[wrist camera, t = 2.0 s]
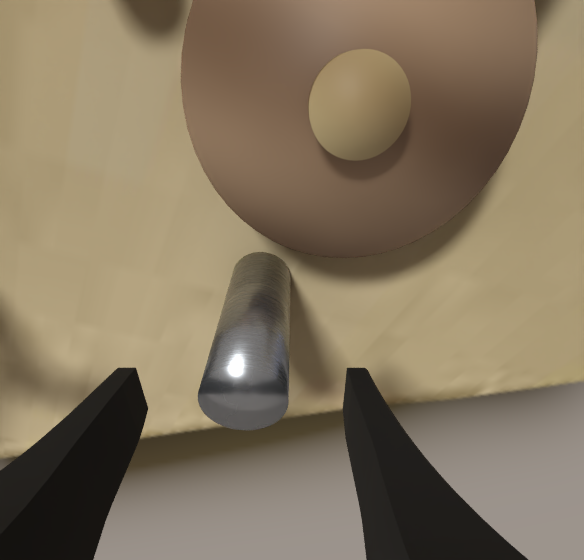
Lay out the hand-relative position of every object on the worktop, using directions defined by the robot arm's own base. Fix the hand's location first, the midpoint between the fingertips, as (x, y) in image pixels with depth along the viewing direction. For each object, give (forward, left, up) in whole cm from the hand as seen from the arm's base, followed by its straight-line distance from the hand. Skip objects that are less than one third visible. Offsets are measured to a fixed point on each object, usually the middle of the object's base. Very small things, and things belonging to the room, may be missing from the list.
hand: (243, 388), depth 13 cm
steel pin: (0, 0, -7) cm, 7 cm away
